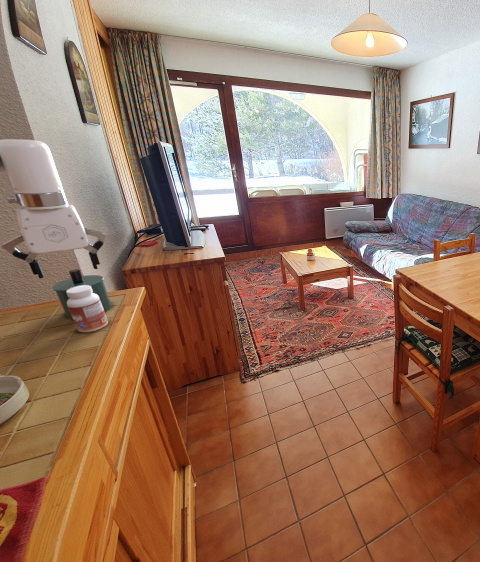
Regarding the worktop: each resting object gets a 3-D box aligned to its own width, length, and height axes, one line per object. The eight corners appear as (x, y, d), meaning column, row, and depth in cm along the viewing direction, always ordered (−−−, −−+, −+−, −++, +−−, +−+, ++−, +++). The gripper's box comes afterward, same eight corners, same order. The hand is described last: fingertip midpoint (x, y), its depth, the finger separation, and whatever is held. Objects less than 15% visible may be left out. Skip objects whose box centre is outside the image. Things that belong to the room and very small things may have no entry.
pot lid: (48, 297, 80) (40, 280, 78) (60, 282, 88) (54, 267, 86) (100, 289, 85) (94, 273, 83) (107, 276, 93) (102, 261, 91)
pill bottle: (73, 328, 80) (57, 290, 76) (102, 318, 85) (88, 281, 81) (84, 335, 78) (67, 296, 73) (113, 324, 83) (99, 287, 78)
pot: (59, 326, 81) (46, 298, 78) (74, 303, 93) (63, 277, 90) (106, 317, 86) (96, 290, 82) (115, 296, 98) (106, 272, 94)
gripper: (-20, 206, 60) (16, 285, 67) (96, 199, 72) (116, 268, 78) (-15, 200, 65) (18, 275, 72) (92, 195, 77) (112, 260, 83)
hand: (69, 272), depth 75 cm, fingers open, 9 cm apart
